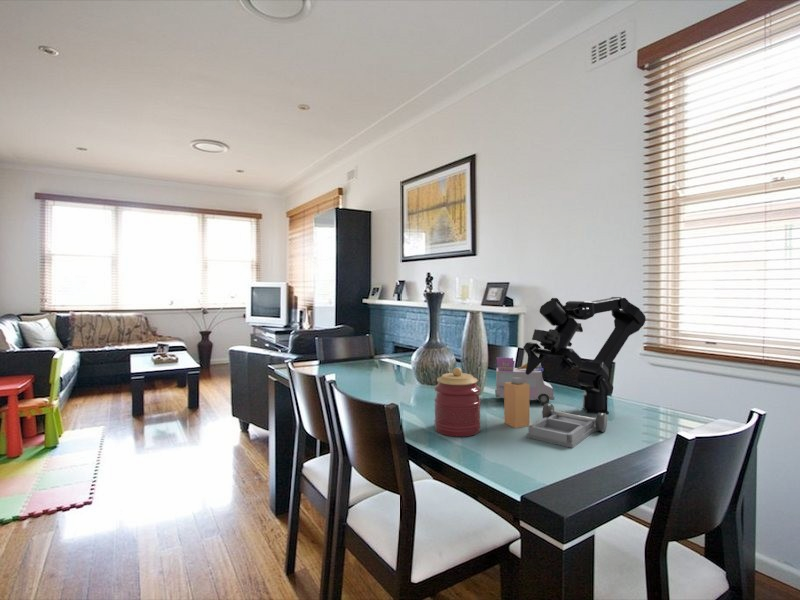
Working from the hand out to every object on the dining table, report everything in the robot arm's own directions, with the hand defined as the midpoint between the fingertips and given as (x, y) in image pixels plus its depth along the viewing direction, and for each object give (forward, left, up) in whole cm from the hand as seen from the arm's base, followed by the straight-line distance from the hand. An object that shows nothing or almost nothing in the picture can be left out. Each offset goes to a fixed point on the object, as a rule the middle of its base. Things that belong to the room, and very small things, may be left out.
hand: (537, 376), depth 127 cm
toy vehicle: (+3, -23, -14) cm, 27 cm away
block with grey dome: (+6, +4, -13) cm, 15 cm away
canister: (+23, +13, -13) cm, 29 cm away
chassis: (-6, +9, -13) cm, 17 cm away
